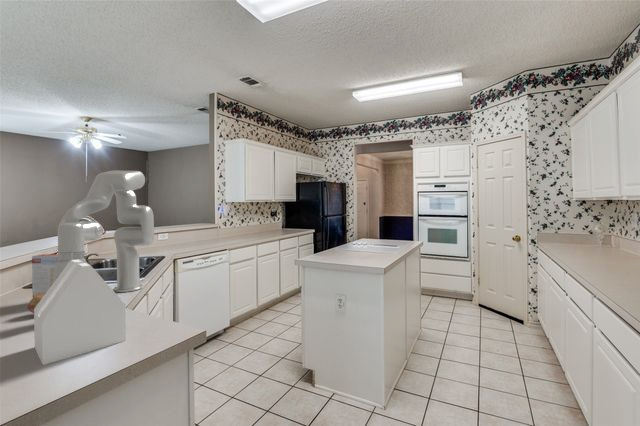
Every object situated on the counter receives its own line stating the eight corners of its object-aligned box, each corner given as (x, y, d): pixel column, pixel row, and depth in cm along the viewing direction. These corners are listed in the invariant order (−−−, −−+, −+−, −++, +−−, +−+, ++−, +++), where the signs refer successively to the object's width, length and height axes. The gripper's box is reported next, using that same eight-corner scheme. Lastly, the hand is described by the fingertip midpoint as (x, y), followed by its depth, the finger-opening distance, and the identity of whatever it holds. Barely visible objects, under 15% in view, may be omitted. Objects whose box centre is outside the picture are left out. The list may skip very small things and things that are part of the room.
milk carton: (42, 365, 80) (41, 271, 80) (34, 347, 90) (33, 264, 90) (125, 341, 95) (124, 261, 94) (110, 328, 105) (109, 256, 104)
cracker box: (74, 301, 134) (73, 254, 134) (61, 305, 128) (60, 256, 128) (45, 300, 136) (45, 253, 135) (31, 304, 130) (31, 255, 129)
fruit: (22, 317, 114) (22, 296, 114) (42, 310, 122) (41, 291, 121) (42, 318, 114) (42, 297, 113) (61, 311, 121) (60, 291, 121)
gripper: (83, 252, 121) (84, 297, 122) (38, 260, 104) (39, 311, 105) (100, 253, 121) (100, 297, 121) (57, 260, 103) (58, 312, 104)
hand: (72, 303), depth 113 cm, fingers open, 6 cm apart
